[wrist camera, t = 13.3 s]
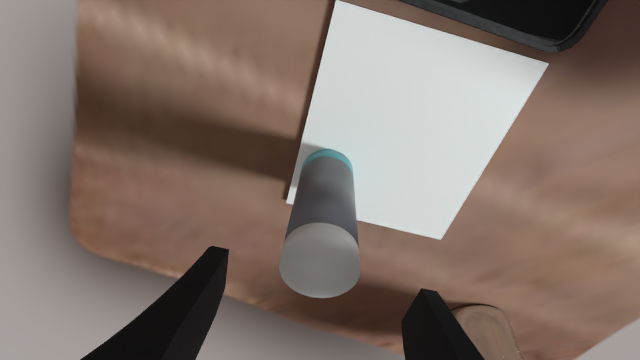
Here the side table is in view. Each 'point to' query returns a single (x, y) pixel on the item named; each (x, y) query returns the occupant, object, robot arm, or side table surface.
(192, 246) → the side table surface
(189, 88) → the side table surface
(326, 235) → the grey cylinder
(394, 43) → the paper
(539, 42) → the phone
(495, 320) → the beer glass
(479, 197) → the side table surface
